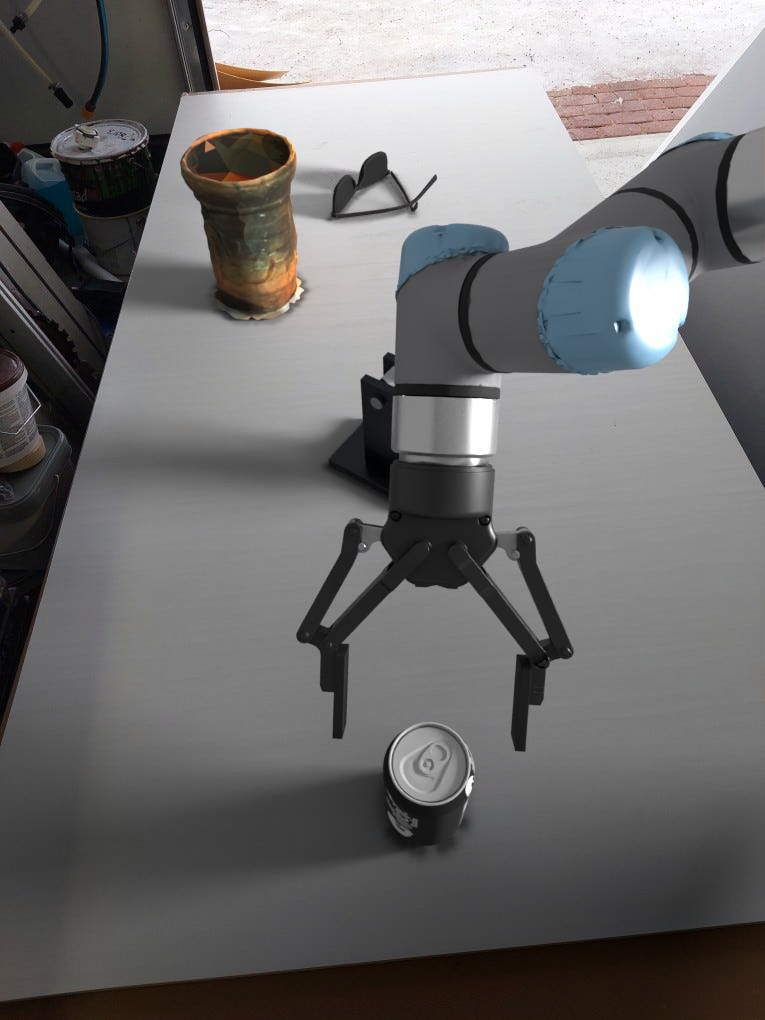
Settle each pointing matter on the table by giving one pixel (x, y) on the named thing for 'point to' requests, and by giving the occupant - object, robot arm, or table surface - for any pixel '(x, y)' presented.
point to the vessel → (247, 218)
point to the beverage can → (427, 782)
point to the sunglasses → (369, 175)
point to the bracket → (371, 435)
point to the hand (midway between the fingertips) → (428, 737)
